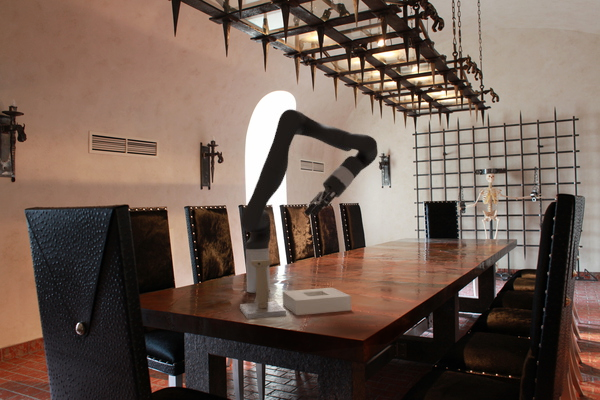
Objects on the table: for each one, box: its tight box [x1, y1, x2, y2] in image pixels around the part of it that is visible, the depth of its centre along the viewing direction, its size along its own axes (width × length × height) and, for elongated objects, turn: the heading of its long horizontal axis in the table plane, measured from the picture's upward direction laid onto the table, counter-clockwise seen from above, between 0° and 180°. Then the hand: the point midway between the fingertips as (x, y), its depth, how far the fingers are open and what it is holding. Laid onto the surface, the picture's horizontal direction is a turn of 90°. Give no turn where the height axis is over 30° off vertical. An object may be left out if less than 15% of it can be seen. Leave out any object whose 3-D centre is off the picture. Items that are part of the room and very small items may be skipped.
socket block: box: [282, 287, 352, 316], centre depth 159 cm, size 18×18×4 cm
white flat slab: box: [239, 300, 287, 320], centre depth 154 cm, size 16×12×2 cm
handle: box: [251, 259, 272, 308], centre depth 153 cm, size 5×6×15 cm
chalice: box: [250, 249, 270, 303], centre depth 172 cm, size 7×7×18 cm
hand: (309, 214), depth 169 cm, fingers open, 8 cm apart
